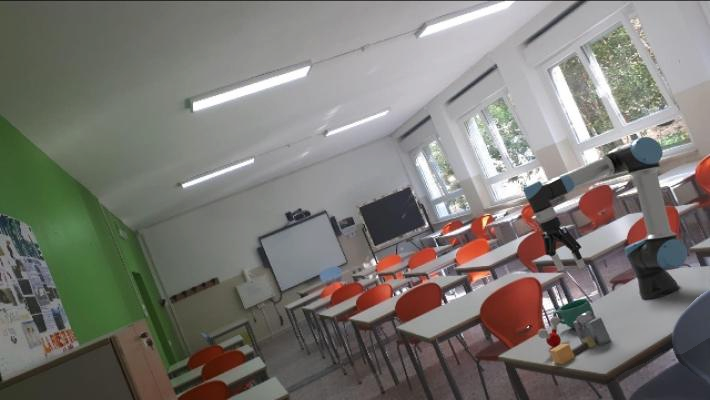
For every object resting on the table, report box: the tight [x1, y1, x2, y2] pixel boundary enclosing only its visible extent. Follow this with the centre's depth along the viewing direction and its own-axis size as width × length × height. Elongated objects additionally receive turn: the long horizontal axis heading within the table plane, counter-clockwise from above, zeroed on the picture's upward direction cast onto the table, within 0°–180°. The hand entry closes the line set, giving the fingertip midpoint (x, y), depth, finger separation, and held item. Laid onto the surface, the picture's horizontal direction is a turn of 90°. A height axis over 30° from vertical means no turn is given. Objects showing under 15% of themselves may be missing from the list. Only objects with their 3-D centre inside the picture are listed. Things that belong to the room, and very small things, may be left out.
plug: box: [548, 337, 597, 365], centre depth 213 cm, size 16×4×5 cm, turn 106°
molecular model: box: [537, 316, 562, 348], centre depth 231 cm, size 18×6×10 cm, turn 139°
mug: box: [552, 298, 595, 329], centre depth 245 cm, size 17×13×10 cm
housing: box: [572, 311, 612, 347], centre depth 216 cm, size 5×11×12 cm, turn 16°
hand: (571, 268), depth 225 cm, fingers open, 13 cm apart
